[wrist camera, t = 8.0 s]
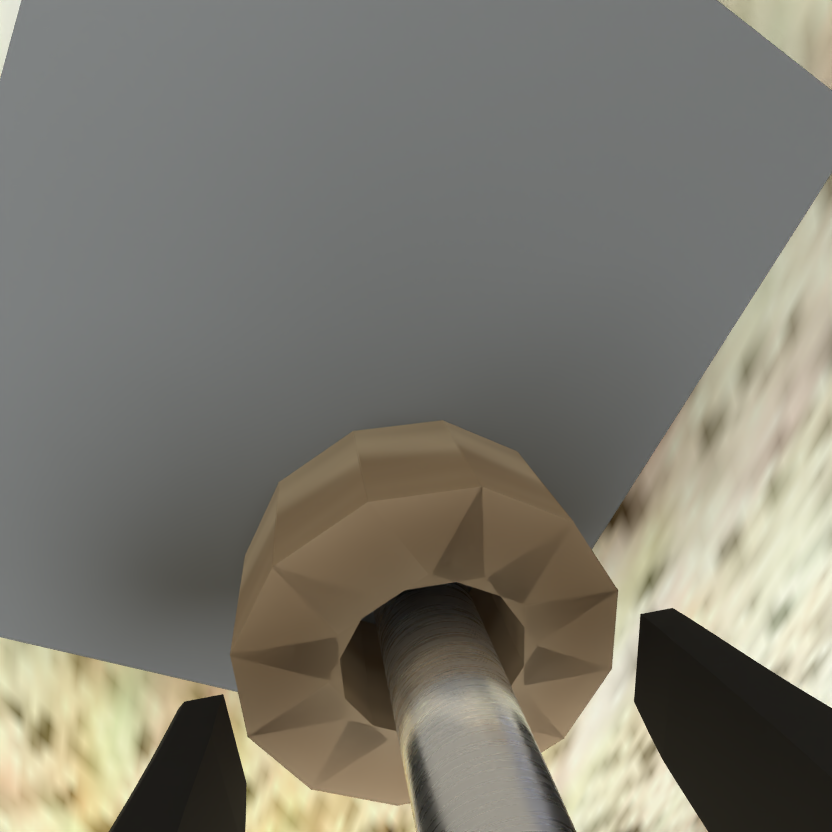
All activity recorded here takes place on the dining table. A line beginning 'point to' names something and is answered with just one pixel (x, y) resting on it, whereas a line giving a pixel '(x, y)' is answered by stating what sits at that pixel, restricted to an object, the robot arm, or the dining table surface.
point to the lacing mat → (354, 266)
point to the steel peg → (461, 720)
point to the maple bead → (402, 570)
